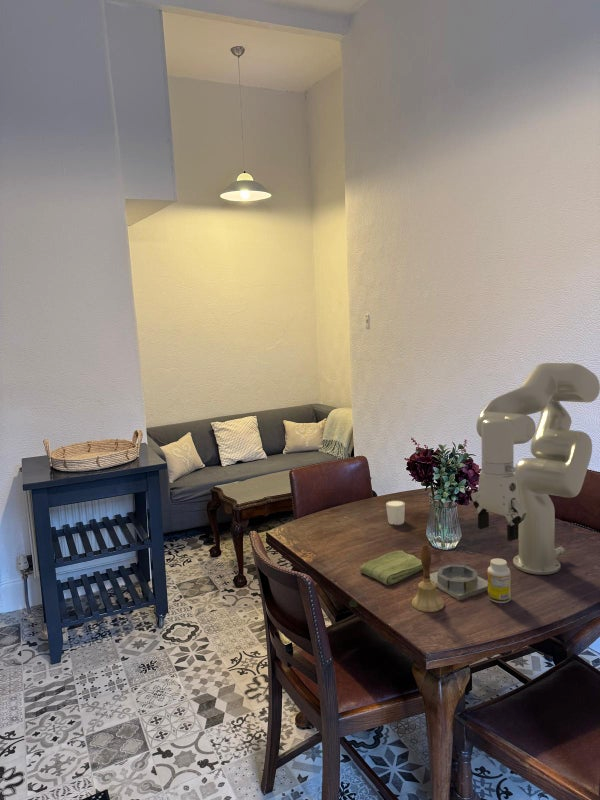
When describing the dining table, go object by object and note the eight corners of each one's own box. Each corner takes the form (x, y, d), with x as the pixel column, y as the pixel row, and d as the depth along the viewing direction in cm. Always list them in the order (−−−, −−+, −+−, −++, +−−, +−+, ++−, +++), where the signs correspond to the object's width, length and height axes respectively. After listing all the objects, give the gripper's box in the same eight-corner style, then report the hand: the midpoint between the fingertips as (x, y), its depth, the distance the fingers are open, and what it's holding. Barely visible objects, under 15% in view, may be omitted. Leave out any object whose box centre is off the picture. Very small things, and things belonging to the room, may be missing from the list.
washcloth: (431, 569, 166) (431, 558, 166) (388, 589, 156) (387, 577, 156) (398, 555, 177) (398, 546, 176) (356, 573, 167) (355, 563, 166)
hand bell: (406, 607, 145) (404, 548, 143) (418, 593, 152) (416, 536, 149) (437, 615, 140) (436, 554, 138) (449, 600, 147) (447, 541, 145)
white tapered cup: (382, 521, 206) (382, 502, 205) (398, 517, 209) (397, 499, 208) (393, 526, 200) (392, 507, 199) (409, 522, 203) (409, 504, 202)
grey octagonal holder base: (456, 569, 164) (456, 558, 164) (493, 588, 152) (493, 576, 152) (423, 579, 159) (423, 569, 159) (458, 600, 147) (458, 588, 146)
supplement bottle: (493, 591, 150) (492, 555, 149) (514, 597, 146) (513, 559, 145) (484, 600, 146) (483, 562, 145) (505, 606, 142) (505, 567, 141)
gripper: (536, 472, 135) (536, 541, 137) (482, 458, 151) (483, 521, 153) (513, 477, 132) (514, 547, 134) (461, 463, 147) (462, 526, 149)
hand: (497, 533), depth 143 cm, fingers open, 9 cm apart
